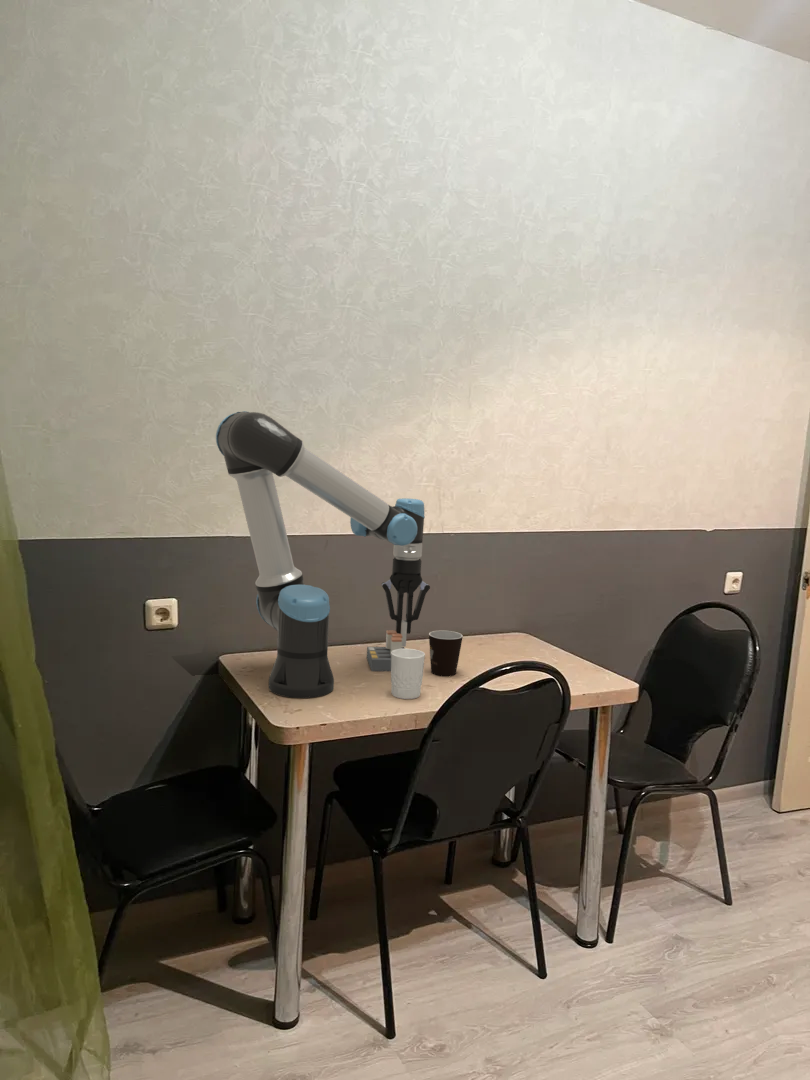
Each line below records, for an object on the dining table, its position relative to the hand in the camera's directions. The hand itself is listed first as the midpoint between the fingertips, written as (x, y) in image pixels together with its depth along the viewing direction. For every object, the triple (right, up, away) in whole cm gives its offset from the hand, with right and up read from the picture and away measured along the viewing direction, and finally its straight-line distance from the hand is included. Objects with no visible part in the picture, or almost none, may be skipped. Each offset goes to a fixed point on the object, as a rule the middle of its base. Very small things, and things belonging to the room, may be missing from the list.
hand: (402, 645), depth 215 cm
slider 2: (-2, -2, -3) cm, 4 cm away
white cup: (+1, -8, -26) cm, 28 cm away
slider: (-3, -1, 0) cm, 3 cm away
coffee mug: (+11, -6, -7) cm, 14 cm away
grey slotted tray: (-4, -5, -3) cm, 7 cm away
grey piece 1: (-2, -2, -7) cm, 8 cm away
